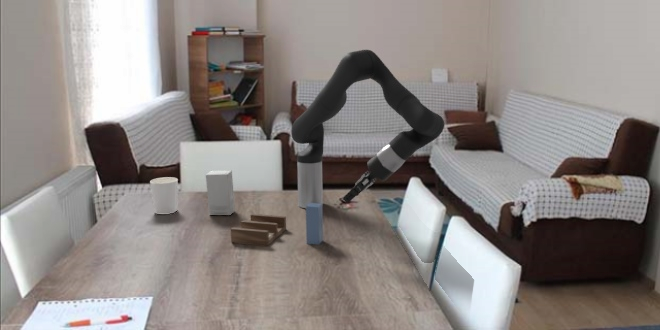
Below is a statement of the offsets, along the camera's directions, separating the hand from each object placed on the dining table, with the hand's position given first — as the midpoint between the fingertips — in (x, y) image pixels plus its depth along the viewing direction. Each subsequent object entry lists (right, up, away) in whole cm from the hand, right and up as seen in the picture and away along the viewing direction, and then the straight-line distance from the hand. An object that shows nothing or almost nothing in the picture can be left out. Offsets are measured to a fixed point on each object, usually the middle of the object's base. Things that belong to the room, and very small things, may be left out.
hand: (348, 196), depth 177 cm
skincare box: (-45, -8, +37) cm, 59 cm away
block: (-10, -14, +6) cm, 19 cm away
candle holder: (-66, -8, +40) cm, 77 cm away
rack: (-28, -13, +13) cm, 34 cm away
